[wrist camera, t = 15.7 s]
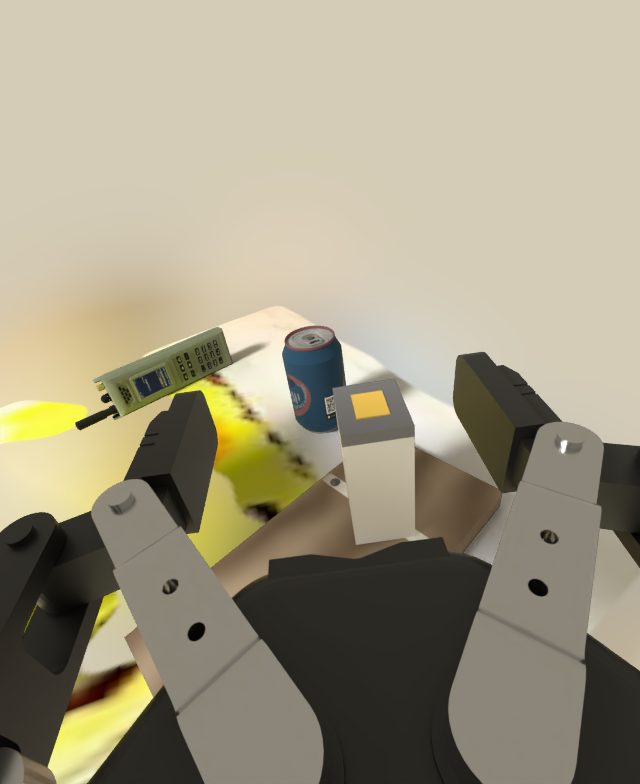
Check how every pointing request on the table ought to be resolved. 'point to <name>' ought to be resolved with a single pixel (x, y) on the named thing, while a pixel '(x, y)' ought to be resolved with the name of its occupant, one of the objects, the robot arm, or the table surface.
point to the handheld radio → (160, 374)
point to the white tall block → (377, 459)
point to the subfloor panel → (347, 530)
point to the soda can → (314, 376)
